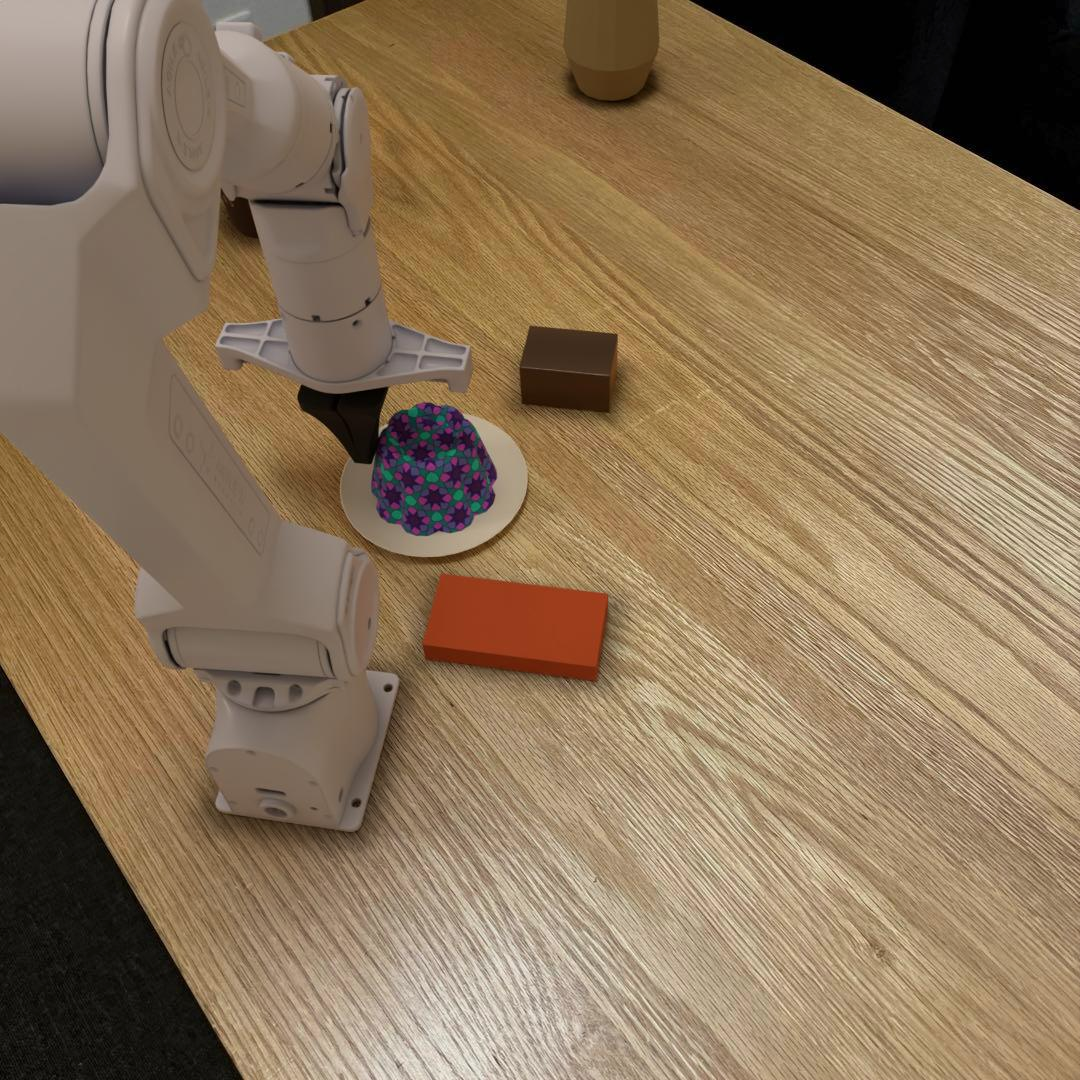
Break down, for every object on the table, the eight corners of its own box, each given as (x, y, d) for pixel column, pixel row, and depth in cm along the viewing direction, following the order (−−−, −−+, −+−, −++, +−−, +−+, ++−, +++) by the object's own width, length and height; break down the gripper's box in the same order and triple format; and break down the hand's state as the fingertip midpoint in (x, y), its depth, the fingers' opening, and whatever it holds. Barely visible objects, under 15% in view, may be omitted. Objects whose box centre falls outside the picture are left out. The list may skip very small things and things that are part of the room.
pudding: (307, 476, 77) (290, 422, 73) (458, 392, 81) (451, 335, 77) (408, 597, 71) (397, 545, 67) (566, 499, 76) (564, 445, 71)
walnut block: (609, 413, 80) (610, 376, 77) (521, 404, 81) (519, 367, 78) (617, 370, 82) (618, 333, 79) (531, 362, 83) (529, 324, 80)
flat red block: (596, 681, 68) (596, 667, 66) (425, 659, 69) (421, 644, 68) (608, 608, 71) (608, 593, 69) (443, 588, 72) (440, 573, 71)
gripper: (475, 248, 65) (491, 416, 76) (222, 226, 67) (274, 394, 78) (448, 338, 61) (470, 502, 72) (180, 312, 63) (240, 476, 74)
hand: (366, 451), depth 75 cm, fingers closed
